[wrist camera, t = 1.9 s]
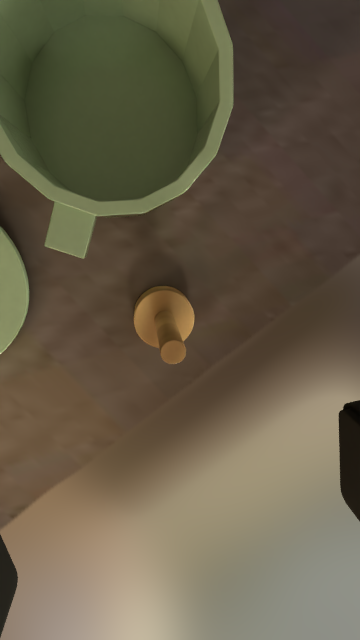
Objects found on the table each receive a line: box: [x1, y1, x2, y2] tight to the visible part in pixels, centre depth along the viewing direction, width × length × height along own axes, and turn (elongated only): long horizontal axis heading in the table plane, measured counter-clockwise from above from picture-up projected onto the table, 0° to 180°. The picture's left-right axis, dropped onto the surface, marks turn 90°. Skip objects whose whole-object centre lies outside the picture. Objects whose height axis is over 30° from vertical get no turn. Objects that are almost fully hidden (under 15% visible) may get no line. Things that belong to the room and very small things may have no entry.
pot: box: [0, 0, 233, 258], centre depth 20 cm, size 14×19×8 cm
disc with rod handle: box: [134, 286, 194, 364], centre depth 24 cm, size 5×5×9 cm
